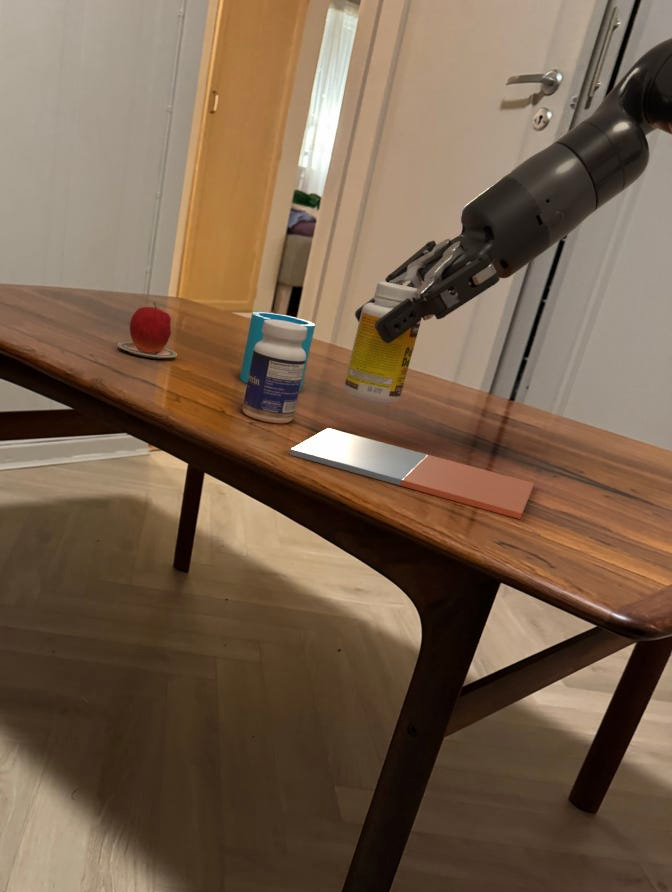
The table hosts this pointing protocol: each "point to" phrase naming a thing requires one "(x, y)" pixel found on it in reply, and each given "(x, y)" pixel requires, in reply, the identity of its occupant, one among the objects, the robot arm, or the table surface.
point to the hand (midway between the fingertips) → (370, 328)
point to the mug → (257, 335)
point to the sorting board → (417, 471)
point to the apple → (149, 333)
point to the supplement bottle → (380, 350)
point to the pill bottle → (276, 372)
